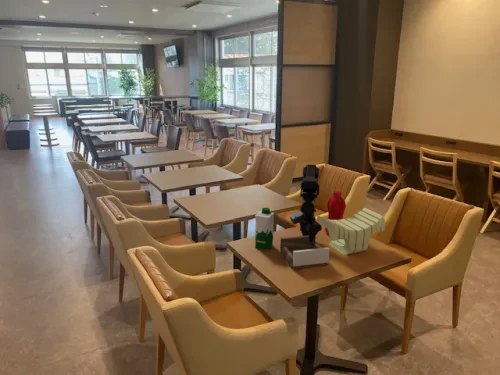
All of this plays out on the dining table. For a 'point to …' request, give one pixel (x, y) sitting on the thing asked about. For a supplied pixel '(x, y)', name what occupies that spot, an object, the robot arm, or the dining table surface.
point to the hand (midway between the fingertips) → (306, 238)
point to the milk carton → (264, 229)
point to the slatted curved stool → (353, 230)
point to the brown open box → (297, 248)
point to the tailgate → (310, 256)
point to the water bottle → (335, 207)
